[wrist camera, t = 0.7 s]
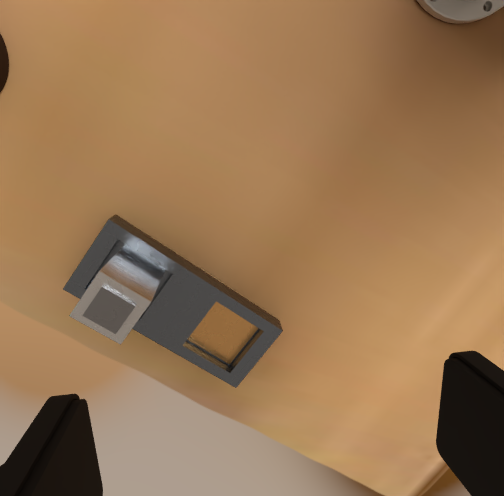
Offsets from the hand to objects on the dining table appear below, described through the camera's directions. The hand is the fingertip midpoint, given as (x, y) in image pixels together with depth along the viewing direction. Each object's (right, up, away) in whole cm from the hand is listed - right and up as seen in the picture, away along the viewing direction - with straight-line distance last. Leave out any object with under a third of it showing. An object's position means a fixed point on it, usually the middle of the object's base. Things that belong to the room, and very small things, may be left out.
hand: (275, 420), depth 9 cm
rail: (-9, -2, +31) cm, 33 cm away
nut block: (-14, +1, +29) cm, 32 cm away
